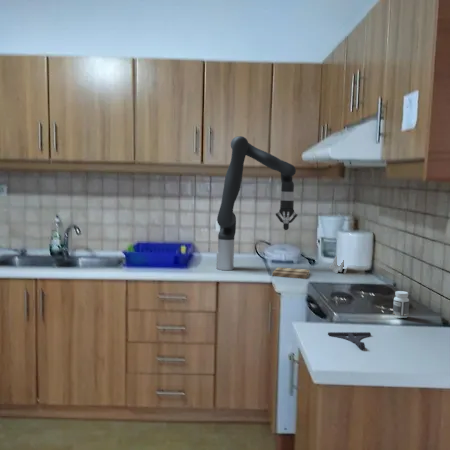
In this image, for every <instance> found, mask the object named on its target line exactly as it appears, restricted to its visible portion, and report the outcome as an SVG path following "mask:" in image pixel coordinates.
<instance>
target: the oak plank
mask: <svg viewBox="0 0 450 450" xmlns="http://www.w3.org/2000/svg"><path fill="white" fill-rule="evenodd" d="M275 270H284V271H297V272H308V276H309V275H310V271H311V270H310V269H304V268H303V269H301V268H290V267H279V266H278V267H277V268H275Z"/></svg>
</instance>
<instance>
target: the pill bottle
mask: <svg viewBox="0 0 450 450" xmlns="http://www.w3.org/2000/svg"><path fill="white" fill-rule="evenodd" d="M394 293H395V294H394V295H395V296H394V298H393V303H392V304H393V306H392V315H393V314H395V315H403V316H405V315H408V316H409V314H410V313H409V311H410V309H409V308H410V299H409V298H408V297H409V292H408V291H403V290H396V291H395V292H394Z"/></svg>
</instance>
